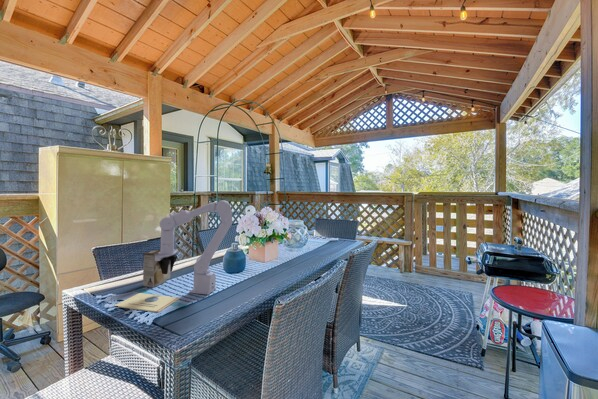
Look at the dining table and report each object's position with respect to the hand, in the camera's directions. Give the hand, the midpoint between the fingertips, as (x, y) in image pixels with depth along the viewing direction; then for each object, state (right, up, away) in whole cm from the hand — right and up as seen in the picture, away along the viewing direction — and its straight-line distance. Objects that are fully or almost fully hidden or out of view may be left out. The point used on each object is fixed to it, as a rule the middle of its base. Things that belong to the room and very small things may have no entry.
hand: (167, 272), depth 131 cm
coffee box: (-11, -8, +10) cm, 17 cm away
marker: (0, -2, 0) cm, 2 cm away
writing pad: (-3, -10, -11) cm, 15 cm away
